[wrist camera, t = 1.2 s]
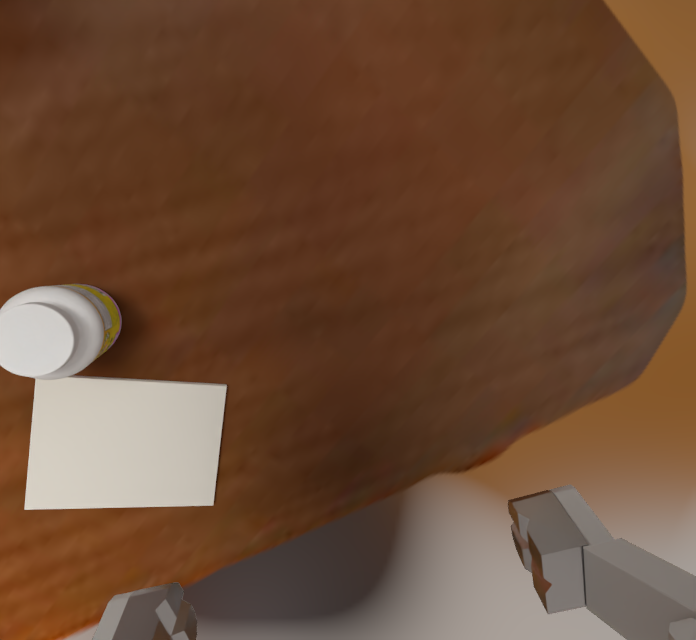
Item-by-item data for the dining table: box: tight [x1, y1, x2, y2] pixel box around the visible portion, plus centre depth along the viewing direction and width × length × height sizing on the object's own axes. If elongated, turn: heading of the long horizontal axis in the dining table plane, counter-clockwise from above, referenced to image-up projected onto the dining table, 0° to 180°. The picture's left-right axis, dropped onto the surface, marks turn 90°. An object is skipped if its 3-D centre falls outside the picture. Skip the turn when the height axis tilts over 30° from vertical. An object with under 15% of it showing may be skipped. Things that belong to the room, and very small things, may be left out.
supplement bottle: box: [0, 284, 122, 380], centre depth 35 cm, size 7×7×13 cm
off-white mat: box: [24, 375, 227, 510], centre depth 43 cm, size 16×12×1 cm
